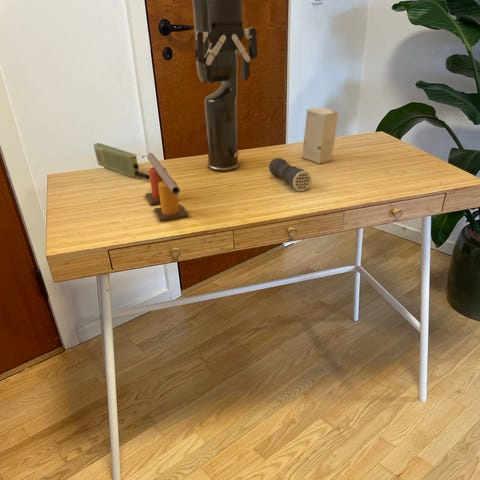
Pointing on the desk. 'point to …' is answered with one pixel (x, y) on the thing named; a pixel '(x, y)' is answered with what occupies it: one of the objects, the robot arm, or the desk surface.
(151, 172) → the red peg stand
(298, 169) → the flashlight
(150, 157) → the metal rod
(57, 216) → the desk surface
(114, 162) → the handheld radio
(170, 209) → the ochre post
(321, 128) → the pale wooden block
